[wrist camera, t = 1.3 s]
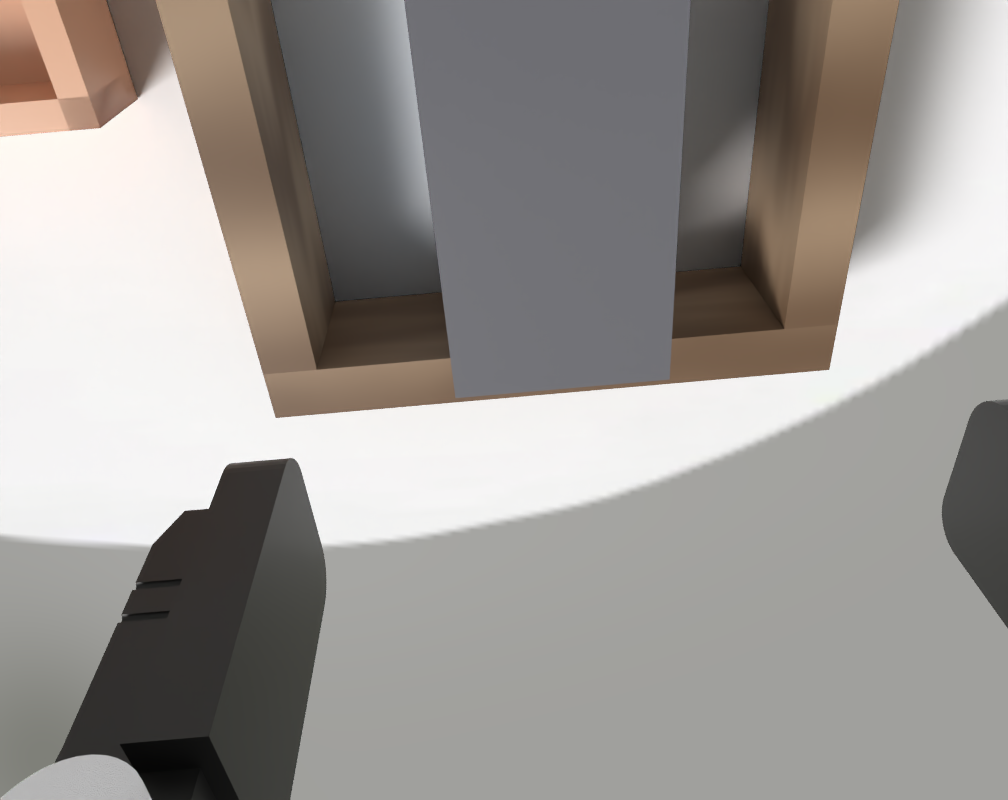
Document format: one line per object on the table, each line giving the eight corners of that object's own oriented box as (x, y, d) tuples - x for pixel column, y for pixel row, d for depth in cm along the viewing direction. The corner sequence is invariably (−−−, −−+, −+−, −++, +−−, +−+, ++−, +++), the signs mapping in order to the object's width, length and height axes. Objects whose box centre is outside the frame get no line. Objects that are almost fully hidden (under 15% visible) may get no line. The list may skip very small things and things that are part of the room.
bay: (180, -126, 20) (120, -122, 17) (850, -184, 20) (935, -192, 17) (299, 345, 28) (276, 417, 25) (781, 303, 28) (829, 369, 25)
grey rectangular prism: (416, -78, 21) (397, -48, 15) (620, -96, 21) (694, -73, 15) (455, 265, 27) (455, 398, 20) (617, 251, 27) (669, 379, 20)
